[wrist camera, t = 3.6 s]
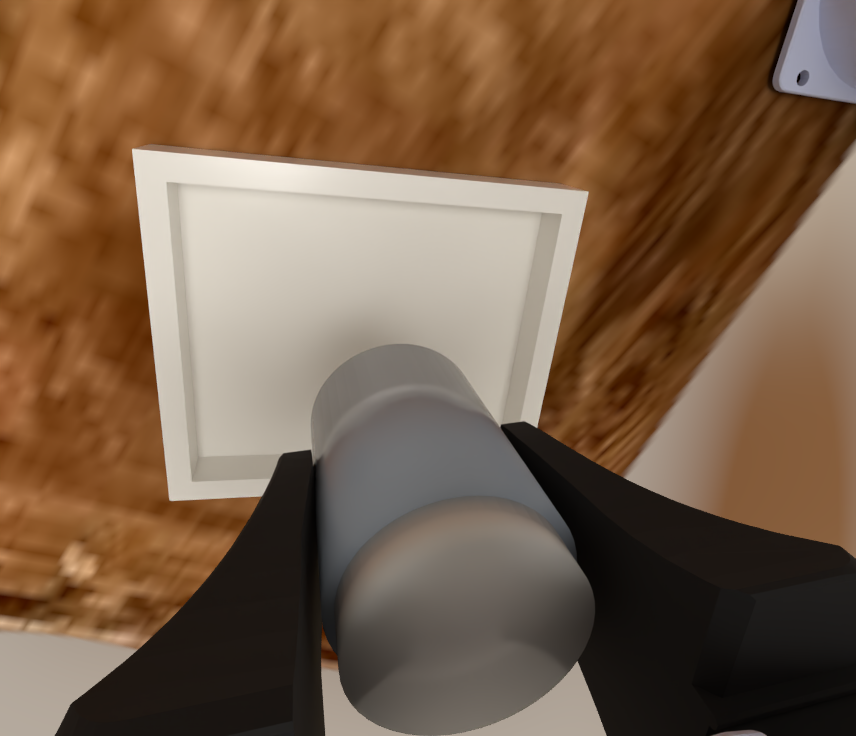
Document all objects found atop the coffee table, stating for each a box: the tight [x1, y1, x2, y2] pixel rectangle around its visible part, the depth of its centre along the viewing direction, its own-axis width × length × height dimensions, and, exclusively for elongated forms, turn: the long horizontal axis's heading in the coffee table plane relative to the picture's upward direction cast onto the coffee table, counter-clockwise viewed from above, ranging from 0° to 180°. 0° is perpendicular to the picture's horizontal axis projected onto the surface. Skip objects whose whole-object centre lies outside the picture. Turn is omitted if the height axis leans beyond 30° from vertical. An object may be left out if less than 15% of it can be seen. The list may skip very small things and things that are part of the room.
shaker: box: [311, 344, 595, 736], centre depth 11 cm, size 4×4×7 cm
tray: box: [132, 144, 589, 501], centre depth 20 cm, size 14×12×2 cm
